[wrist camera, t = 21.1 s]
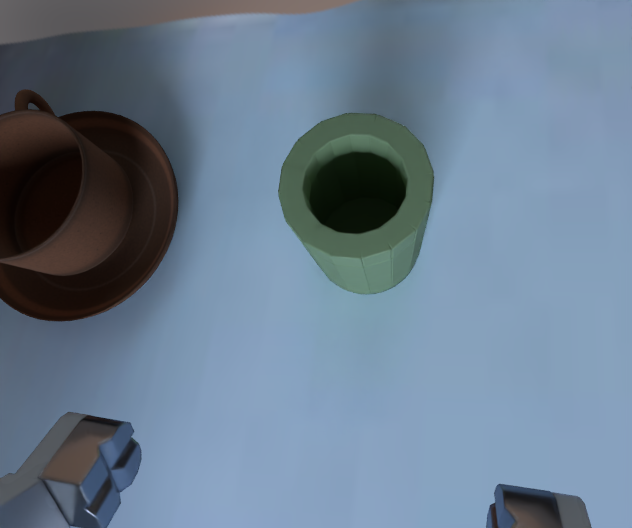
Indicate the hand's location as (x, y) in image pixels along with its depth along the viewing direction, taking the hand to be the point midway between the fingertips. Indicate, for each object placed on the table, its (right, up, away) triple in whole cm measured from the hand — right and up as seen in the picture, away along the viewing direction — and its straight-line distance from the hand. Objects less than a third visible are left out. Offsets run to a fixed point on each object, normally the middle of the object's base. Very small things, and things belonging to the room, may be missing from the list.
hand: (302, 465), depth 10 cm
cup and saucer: (-13, +7, +17) cm, 22 cm away
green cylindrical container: (+3, +6, +14) cm, 16 cm away
